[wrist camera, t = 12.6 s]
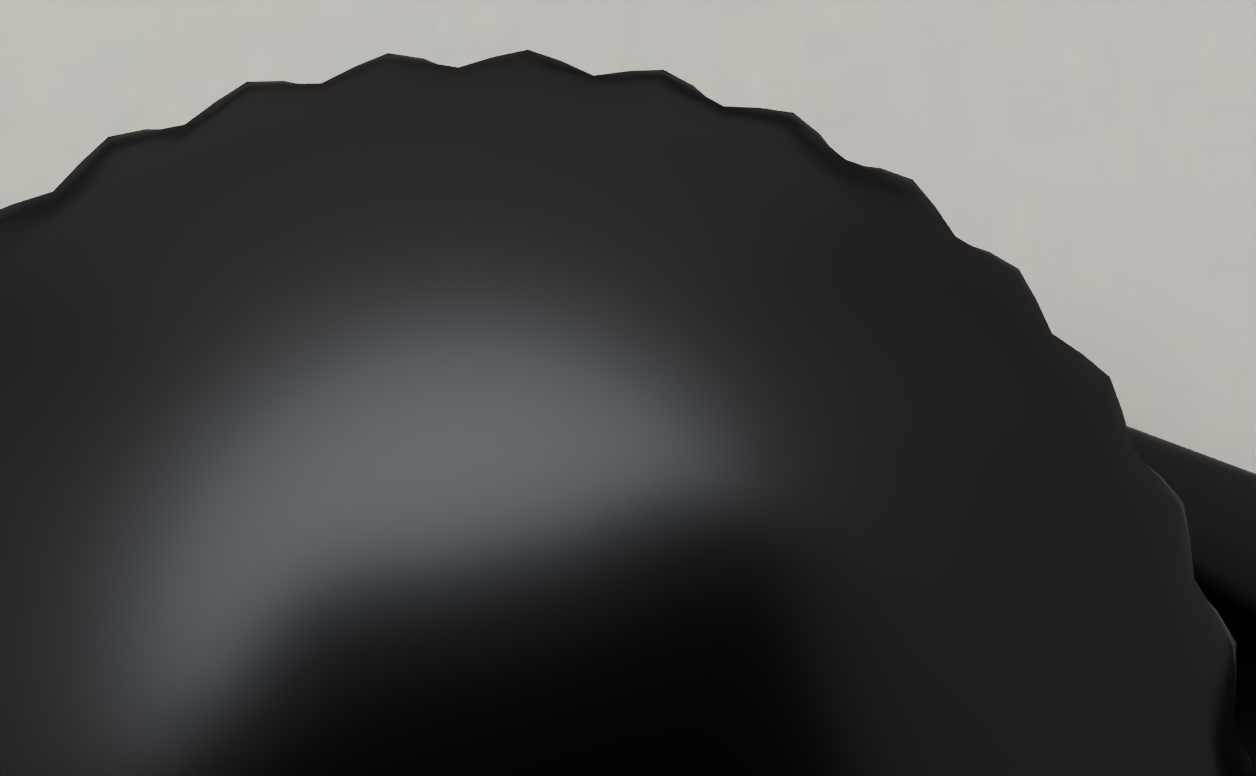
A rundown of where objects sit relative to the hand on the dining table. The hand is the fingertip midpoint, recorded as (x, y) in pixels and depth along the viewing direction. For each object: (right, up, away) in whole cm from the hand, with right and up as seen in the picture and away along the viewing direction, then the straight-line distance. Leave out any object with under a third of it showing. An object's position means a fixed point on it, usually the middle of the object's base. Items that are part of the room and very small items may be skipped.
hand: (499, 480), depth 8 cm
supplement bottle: (0, -3, +6) cm, 7 cm away
